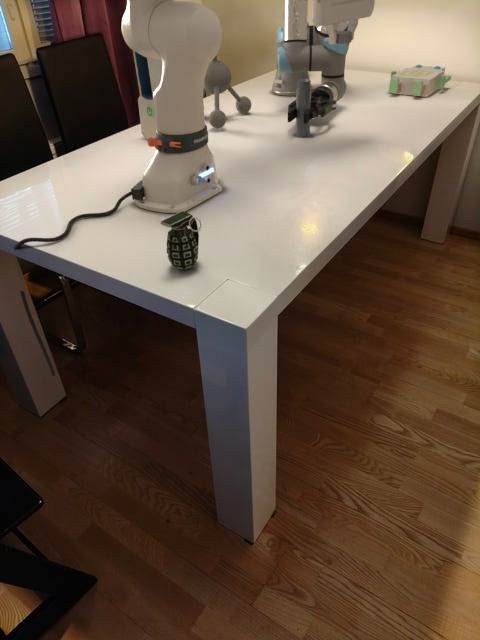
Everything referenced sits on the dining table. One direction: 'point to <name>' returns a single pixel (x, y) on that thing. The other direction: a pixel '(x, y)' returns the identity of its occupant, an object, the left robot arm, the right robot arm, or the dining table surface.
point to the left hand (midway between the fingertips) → (341, 42)
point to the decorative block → (418, 80)
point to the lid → (344, 37)
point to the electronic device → (147, 91)
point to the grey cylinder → (303, 107)
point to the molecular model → (219, 83)
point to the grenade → (182, 240)
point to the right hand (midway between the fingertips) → (296, 118)
